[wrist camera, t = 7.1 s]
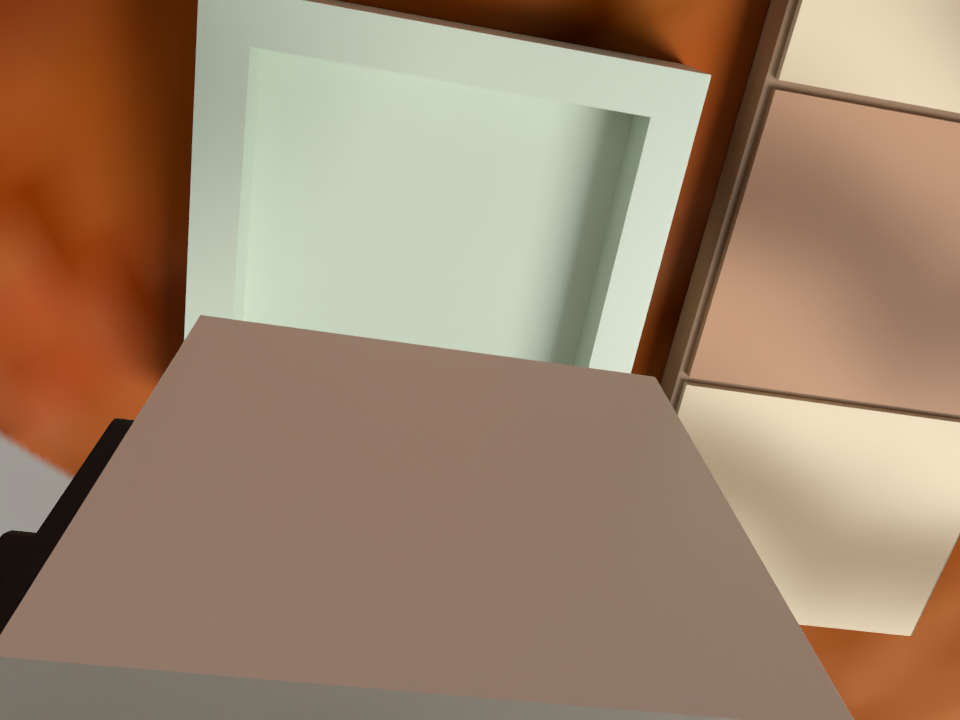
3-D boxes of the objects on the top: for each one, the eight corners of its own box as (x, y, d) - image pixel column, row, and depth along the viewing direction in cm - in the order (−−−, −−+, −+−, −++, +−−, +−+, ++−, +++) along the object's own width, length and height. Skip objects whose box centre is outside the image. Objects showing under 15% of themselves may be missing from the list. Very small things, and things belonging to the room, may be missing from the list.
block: (200, 314, 9) (-30, 683, 4) (655, 376, 10) (875, 757, 5) (181, 677, 11) (7, 1199, 6) (561, 707, 12) (657, 1204, 7)
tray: (221, -22, 18) (198, -20, 16) (684, 64, 19) (711, 75, 17) (200, 404, 22) (179, 444, 20) (584, 453, 23) (597, 495, 21)
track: (857, -303, 17) (888, -322, 16) (1271, -202, 18) (1326, -213, 17) (604, 579, 25) (612, 607, 24) (895, 611, 26) (915, 639, 25)
